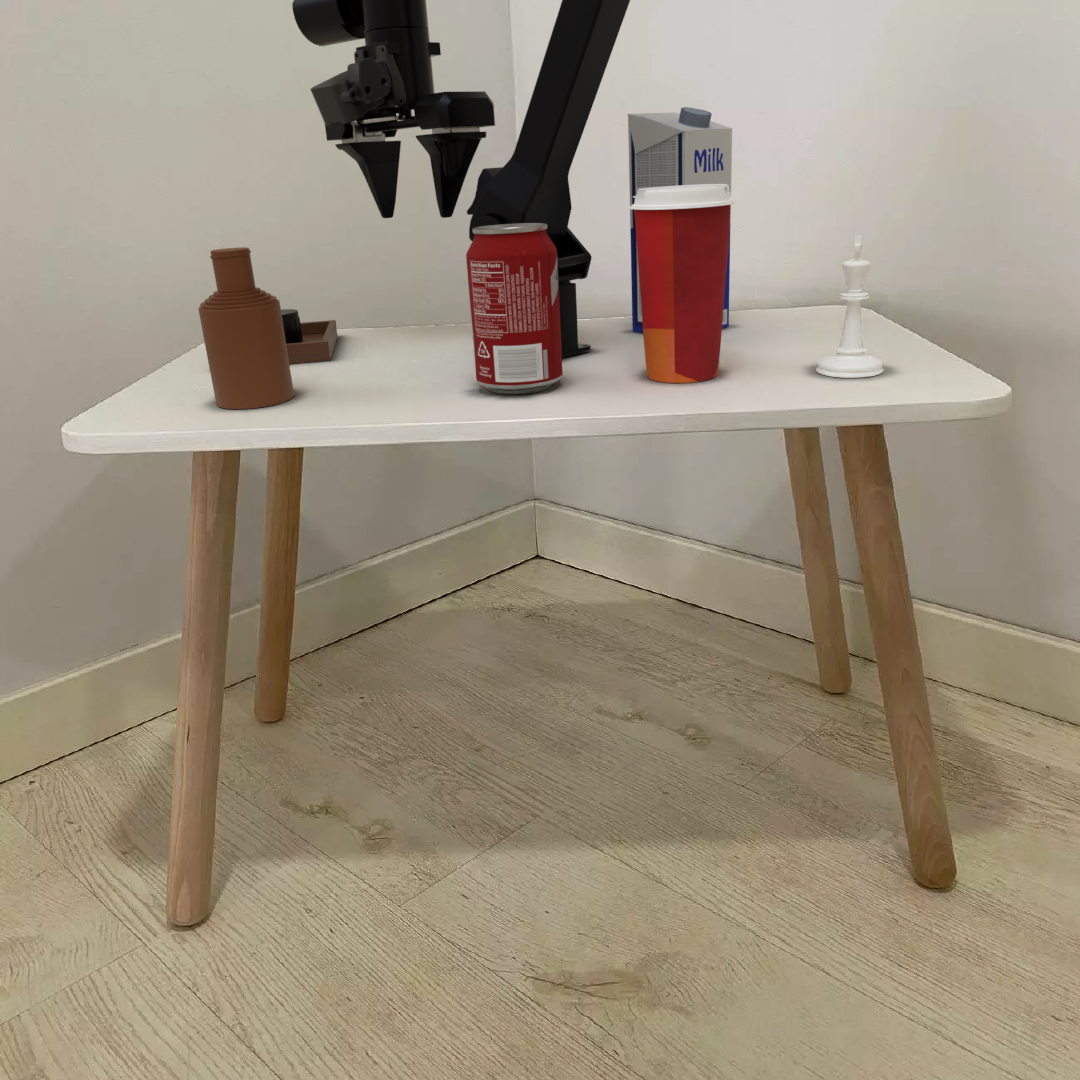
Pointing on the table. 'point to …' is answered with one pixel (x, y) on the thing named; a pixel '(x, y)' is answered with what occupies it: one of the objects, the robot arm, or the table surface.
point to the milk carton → (675, 169)
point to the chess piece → (852, 327)
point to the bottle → (244, 337)
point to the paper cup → (682, 278)
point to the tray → (314, 342)
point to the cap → (291, 326)
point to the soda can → (515, 308)
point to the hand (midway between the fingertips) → (416, 217)
